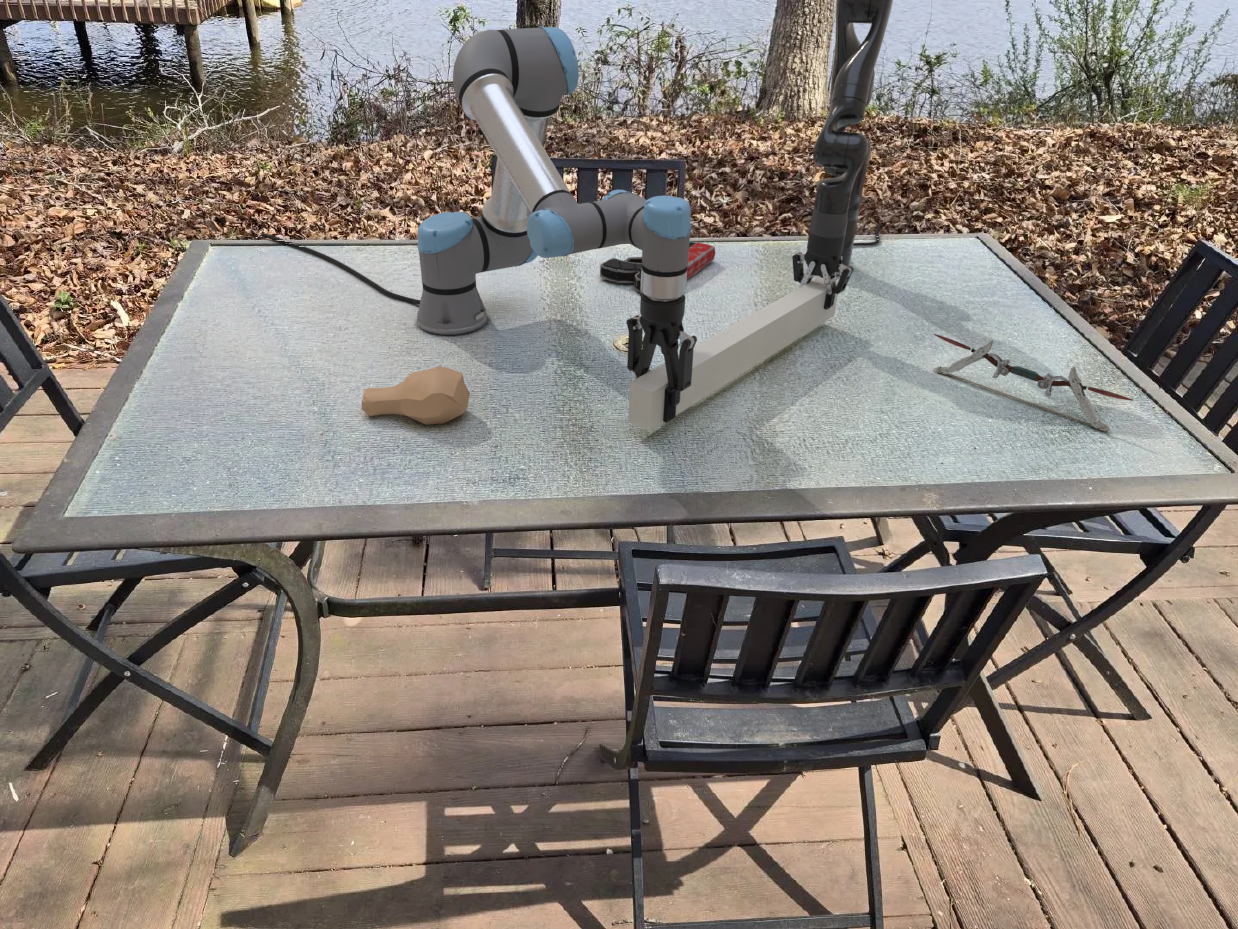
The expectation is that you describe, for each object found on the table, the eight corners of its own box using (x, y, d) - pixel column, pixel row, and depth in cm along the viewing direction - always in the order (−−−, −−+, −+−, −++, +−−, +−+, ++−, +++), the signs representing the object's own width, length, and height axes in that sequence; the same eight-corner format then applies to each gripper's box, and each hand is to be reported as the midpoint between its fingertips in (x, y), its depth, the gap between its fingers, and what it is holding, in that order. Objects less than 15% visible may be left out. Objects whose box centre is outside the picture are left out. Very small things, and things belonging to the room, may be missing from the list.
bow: (1121, 433, 163) (1140, 386, 158) (1118, 437, 162) (1137, 389, 156) (928, 365, 184) (939, 321, 179) (924, 368, 183) (935, 324, 178)
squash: (470, 431, 159) (458, 392, 152) (363, 439, 160) (347, 401, 154) (477, 393, 166) (467, 355, 160) (375, 401, 168) (361, 364, 162)
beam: (650, 432, 155) (652, 391, 150) (628, 422, 157) (629, 382, 153) (834, 315, 199) (840, 281, 194) (814, 309, 201) (820, 276, 197)
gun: (594, 265, 215) (663, 284, 207) (655, 228, 237) (719, 244, 229) (593, 282, 218) (662, 301, 210) (654, 244, 240) (718, 261, 232)
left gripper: (720, 301, 144) (709, 422, 157) (635, 272, 153) (631, 389, 166) (694, 315, 139) (684, 439, 152) (607, 285, 148) (605, 404, 161)
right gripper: (866, 233, 184) (852, 308, 194) (806, 218, 191) (796, 291, 201) (850, 242, 179) (836, 319, 189) (789, 226, 187) (779, 300, 196)
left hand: (656, 413), depth 159 cm, fingers closed on beam, 5 cm apart
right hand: (815, 304), depth 195 cm, fingers closed on beam, 5 cm apart
